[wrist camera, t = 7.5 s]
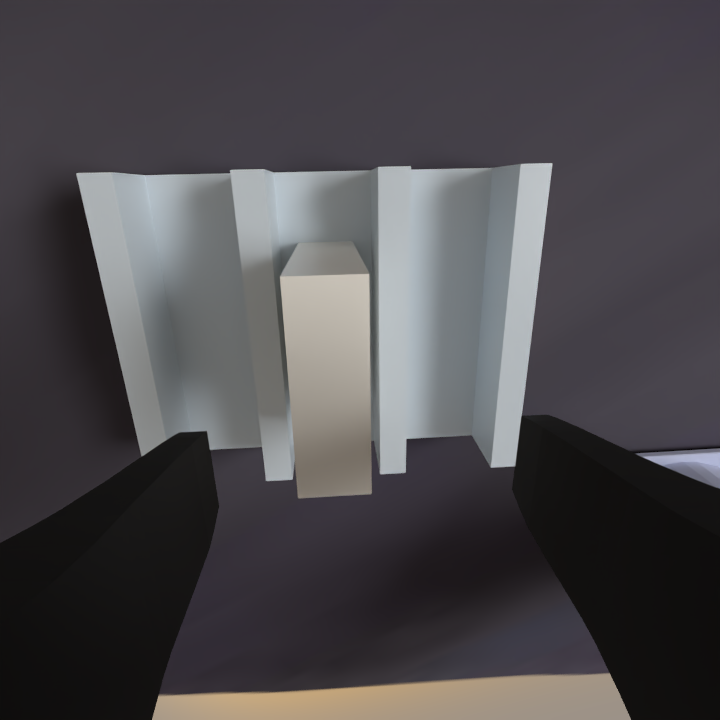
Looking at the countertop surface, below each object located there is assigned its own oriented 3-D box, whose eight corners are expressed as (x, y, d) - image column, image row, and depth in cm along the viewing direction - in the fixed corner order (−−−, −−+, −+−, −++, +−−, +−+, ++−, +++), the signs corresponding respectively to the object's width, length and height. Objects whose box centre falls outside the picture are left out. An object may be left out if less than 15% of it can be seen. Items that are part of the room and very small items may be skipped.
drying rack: (511, 168, 17) (555, 163, 14) (488, 422, 21) (517, 465, 18) (124, 176, 16) (72, 173, 13) (175, 440, 20) (146, 488, 17)
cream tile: (352, 241, 17) (369, 273, 10) (355, 388, 19) (371, 493, 12) (298, 242, 16) (280, 276, 10) (308, 390, 19) (297, 498, 12)
